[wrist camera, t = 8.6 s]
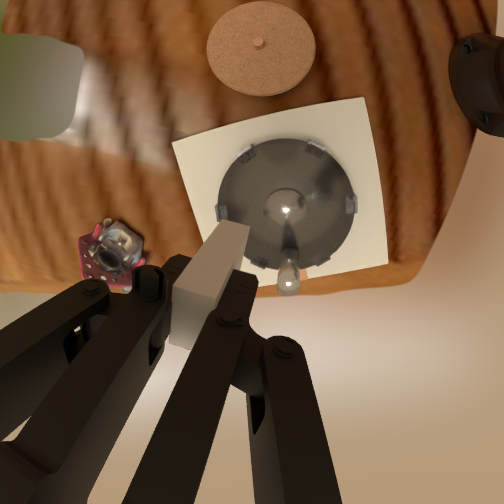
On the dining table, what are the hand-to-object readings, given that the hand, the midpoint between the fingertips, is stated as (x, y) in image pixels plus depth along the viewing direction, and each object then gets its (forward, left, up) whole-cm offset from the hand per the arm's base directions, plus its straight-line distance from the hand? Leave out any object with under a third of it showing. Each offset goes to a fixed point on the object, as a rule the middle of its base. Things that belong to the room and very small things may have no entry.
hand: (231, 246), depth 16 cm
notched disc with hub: (-1, +4, -21) cm, 22 cm away
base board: (-1, +4, -23) cm, 24 cm away
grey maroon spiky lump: (+25, +6, -24) cm, 35 cm away
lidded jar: (-3, -14, -24) cm, 27 cm away
